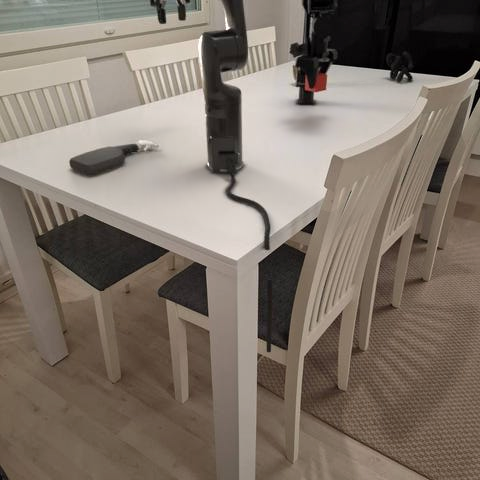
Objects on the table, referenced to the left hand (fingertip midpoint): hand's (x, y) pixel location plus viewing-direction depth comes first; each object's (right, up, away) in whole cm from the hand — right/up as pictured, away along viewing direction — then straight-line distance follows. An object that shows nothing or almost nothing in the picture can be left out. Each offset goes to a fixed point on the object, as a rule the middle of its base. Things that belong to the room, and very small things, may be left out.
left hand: (172, 22), depth 128 cm
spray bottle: (-15, -40, -3) cm, 43 cm away
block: (+44, -14, +16) cm, 49 cm away
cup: (+46, +6, +68) cm, 82 cm away
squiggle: (+91, +9, +72) cm, 117 cm away
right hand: (+44, -13, +15) cm, 48 cm away
